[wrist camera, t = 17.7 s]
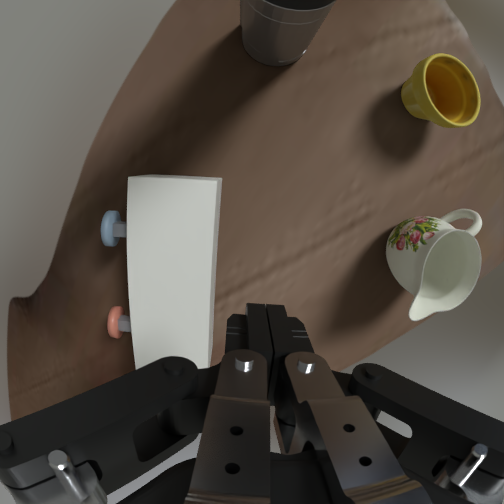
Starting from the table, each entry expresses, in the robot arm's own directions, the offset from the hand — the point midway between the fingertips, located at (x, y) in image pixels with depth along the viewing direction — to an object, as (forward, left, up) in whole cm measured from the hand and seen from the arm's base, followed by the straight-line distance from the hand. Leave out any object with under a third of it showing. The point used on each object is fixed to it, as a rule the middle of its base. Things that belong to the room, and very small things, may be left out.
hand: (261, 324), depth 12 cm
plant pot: (-3, +32, -31) cm, 45 cm away
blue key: (-6, -12, -27) cm, 30 cm away
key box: (+2, -12, -31) cm, 33 cm away
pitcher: (+16, +20, -31) cm, 40 cm away
